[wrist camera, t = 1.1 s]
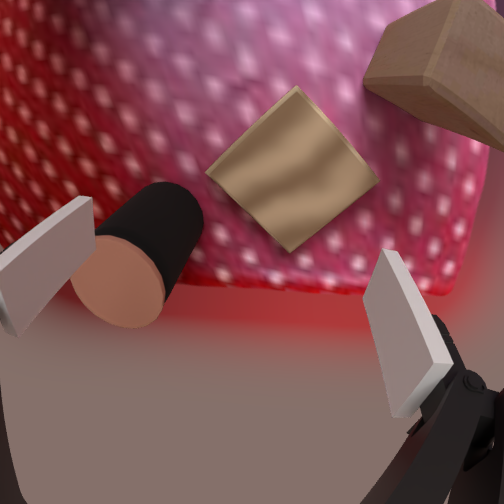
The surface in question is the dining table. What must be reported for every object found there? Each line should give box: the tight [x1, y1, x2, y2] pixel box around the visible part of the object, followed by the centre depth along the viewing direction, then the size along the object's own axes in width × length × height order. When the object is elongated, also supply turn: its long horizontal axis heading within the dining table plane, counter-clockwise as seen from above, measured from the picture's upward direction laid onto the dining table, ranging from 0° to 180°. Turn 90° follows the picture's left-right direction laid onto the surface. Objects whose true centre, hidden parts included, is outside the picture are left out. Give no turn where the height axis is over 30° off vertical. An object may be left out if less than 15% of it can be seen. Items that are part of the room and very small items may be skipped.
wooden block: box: [363, 0, 504, 152], centre depth 23 cm, size 10×10×20 cm
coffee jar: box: [70, 182, 204, 329], centre depth 37 cm, size 11×11×18 cm
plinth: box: [205, 85, 380, 254], centre depth 38 cm, size 15×15×4 cm
